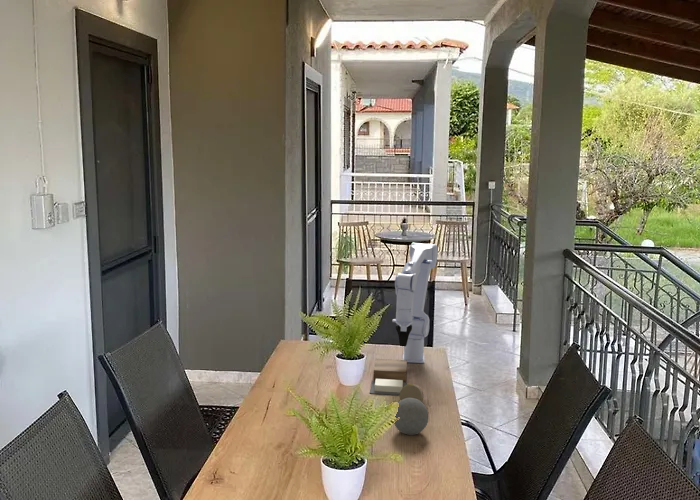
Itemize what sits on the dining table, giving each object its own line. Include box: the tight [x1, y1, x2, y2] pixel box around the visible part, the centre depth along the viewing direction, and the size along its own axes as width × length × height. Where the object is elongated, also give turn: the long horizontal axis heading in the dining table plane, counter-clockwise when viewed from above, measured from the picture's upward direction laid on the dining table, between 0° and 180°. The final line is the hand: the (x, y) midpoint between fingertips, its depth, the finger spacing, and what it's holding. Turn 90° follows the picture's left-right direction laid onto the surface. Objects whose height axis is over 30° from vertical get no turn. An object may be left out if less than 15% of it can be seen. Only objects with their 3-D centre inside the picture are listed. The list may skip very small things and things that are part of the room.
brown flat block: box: [372, 358, 408, 383], centre depth 226 cm, size 12×11×4 cm
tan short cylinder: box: [399, 383, 424, 403], centre depth 203 cm, size 8×10×10 cm
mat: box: [369, 380, 408, 396], centre depth 215 cm, size 11×12×1 cm
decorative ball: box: [393, 398, 429, 436], centre depth 182 cm, size 10×10×10 cm
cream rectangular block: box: [375, 379, 403, 393], centre depth 214 cm, size 6×9×2 cm, turn 85°
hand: (403, 345), depth 228 cm, fingers closed
